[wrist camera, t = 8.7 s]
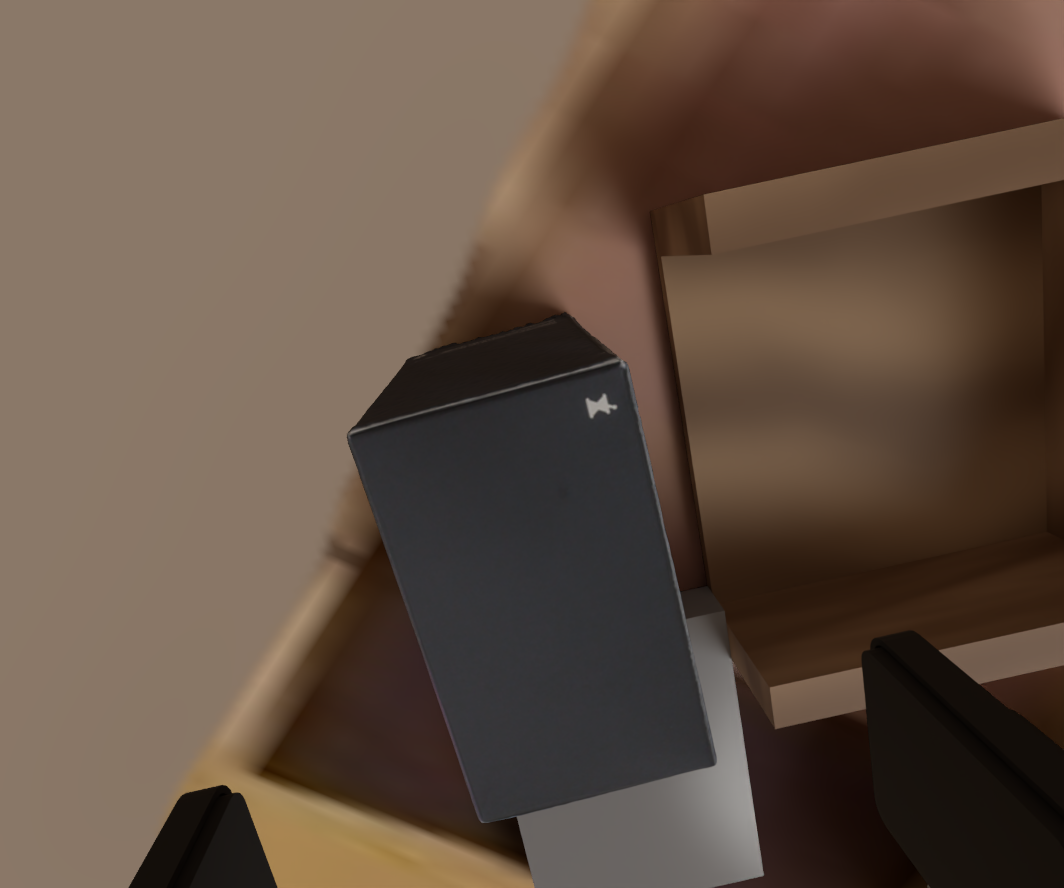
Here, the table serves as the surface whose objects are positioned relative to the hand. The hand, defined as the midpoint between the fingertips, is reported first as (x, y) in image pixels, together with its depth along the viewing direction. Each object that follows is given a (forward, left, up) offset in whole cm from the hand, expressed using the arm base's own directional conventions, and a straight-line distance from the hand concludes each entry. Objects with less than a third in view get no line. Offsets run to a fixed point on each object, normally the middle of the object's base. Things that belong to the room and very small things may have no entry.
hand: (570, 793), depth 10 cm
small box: (0, 0, -16) cm, 16 cm away
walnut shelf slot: (0, +13, -16) cm, 20 cm away
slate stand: (+12, +2, -16) cm, 20 cm away
